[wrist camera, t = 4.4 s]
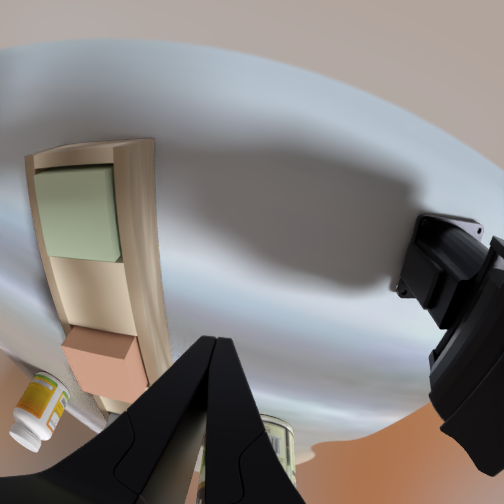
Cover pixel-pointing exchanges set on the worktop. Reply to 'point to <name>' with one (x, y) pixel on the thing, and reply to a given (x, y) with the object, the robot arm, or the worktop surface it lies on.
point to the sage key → (79, 211)
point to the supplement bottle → (39, 411)
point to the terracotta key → (106, 363)
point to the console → (124, 268)
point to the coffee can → (281, 443)
